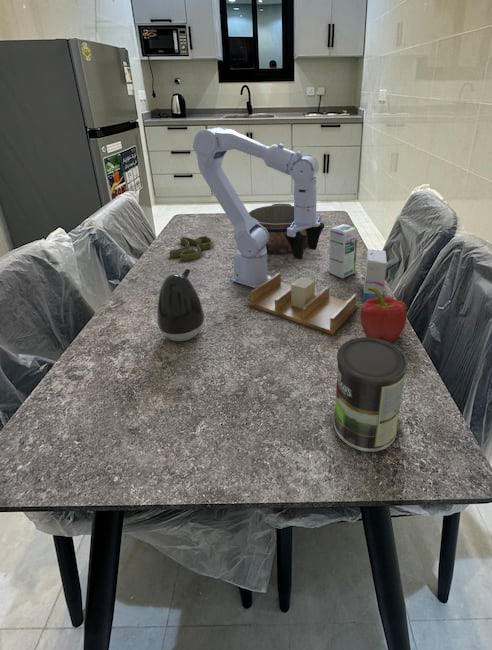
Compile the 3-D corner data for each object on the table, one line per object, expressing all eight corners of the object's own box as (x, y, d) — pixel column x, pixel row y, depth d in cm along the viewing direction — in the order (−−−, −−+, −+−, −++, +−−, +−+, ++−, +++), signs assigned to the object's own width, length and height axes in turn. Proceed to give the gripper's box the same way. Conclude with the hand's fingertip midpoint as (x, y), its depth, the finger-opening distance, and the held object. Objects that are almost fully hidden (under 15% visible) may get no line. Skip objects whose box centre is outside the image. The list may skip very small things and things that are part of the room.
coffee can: (341, 455, 58) (346, 383, 53) (328, 404, 68) (331, 338, 62) (407, 450, 59) (419, 378, 53) (384, 400, 68) (392, 334, 63)
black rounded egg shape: (214, 325, 91) (208, 267, 85) (191, 351, 82) (182, 289, 76) (177, 318, 94) (168, 262, 88) (150, 342, 85) (139, 282, 79)
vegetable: (347, 327, 89) (350, 289, 85) (384, 317, 93) (388, 280, 89) (376, 354, 80) (380, 313, 76) (415, 341, 84) (421, 302, 80)
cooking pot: (254, 228, 154) (253, 202, 150) (310, 228, 152) (310, 202, 148) (242, 258, 127) (240, 227, 122) (310, 259, 125) (310, 228, 121)
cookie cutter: (183, 240, 143) (183, 235, 142) (215, 240, 142) (214, 235, 141) (166, 260, 126) (165, 254, 126) (202, 260, 125) (201, 255, 125)
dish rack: (249, 305, 99) (248, 292, 98) (279, 284, 110) (278, 271, 108) (332, 335, 87) (333, 320, 85) (357, 307, 97) (358, 293, 96)
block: (291, 305, 97) (291, 284, 95) (301, 297, 101) (301, 276, 98) (304, 309, 95) (305, 288, 93) (314, 301, 99) (315, 280, 96)
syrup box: (342, 279, 112) (345, 232, 106) (327, 272, 116) (329, 227, 110) (355, 273, 115) (358, 227, 110) (340, 267, 119) (342, 222, 114)
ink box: (383, 304, 99) (387, 262, 94) (363, 302, 100) (366, 261, 95) (381, 288, 106) (385, 249, 102) (363, 287, 107) (366, 248, 102)
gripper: (304, 214, 90) (304, 266, 96) (332, 200, 101) (331, 247, 107) (279, 210, 94) (281, 260, 99) (308, 196, 105) (309, 242, 110)
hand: (305, 253), depth 103 cm, fingers open, 7 cm apart
